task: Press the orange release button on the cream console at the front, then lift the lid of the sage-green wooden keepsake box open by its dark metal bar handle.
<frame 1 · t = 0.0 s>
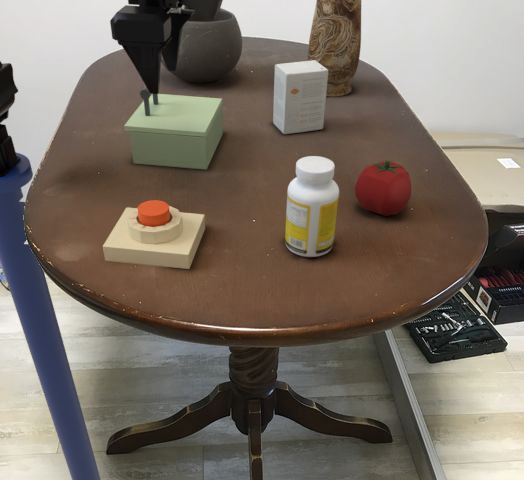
hand: (163, 81, 79), 16 cm above the table, tool pointing down, fingers open, 9 cm apart
release button: (154, 213, 76), point 5 cm above the table, slide at 0.2 cm
tomato: (381, 209, 87), on the table
small box: (297, 127, 109), on the table
vase: (330, 90, 124), on the table
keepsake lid: (174, 100, 96), point 8 cm above the table, hinge at 0.0°
keepsake box: (180, 147, 101), on the table
pill bottle: (308, 247, 79), on the table
release console: (157, 244, 79), on the table
bowl: (200, 79, 127), on the table
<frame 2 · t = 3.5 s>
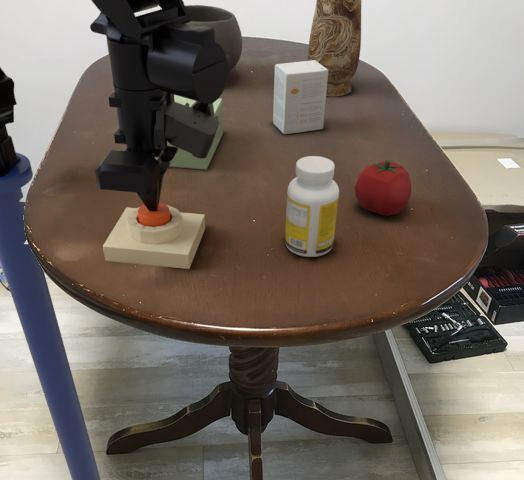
hand: (153, 209, 75), 5 cm above the table, tool pointing down, fingers closed, pressing on release button
release button: (154, 215, 76), point 4 cm above the table, slide at -0.2 cm, touching gripper
everything else where it was.
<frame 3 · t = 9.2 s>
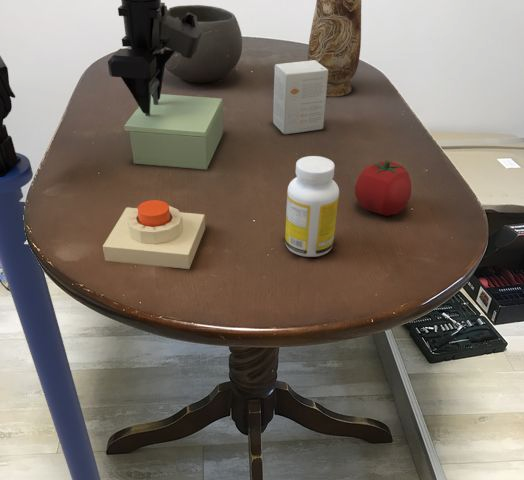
hand: (151, 106, 97), 7 cm above the table, tool pointing down, fingers closed on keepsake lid, 6 cm apart
release button: (154, 213, 76), point 5 cm above the table, slide at 0.2 cm
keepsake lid: (174, 100, 96), point 8 cm above the table, hinge at 0.0°, touching gripper
everything else where it was.
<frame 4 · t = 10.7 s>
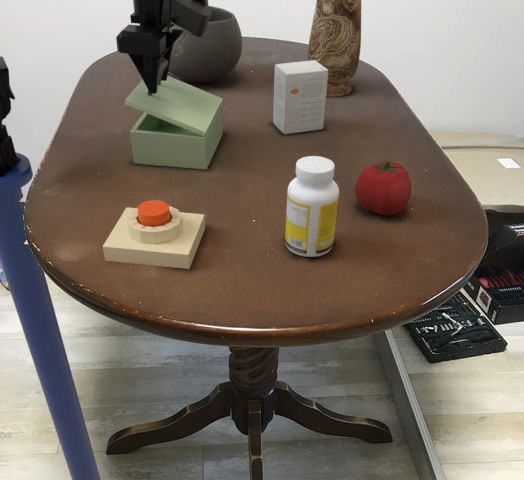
hand: (158, 86, 94), 10 cm above the table, tool pointing down, fingers closed on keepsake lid, 6 cm apart
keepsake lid: (180, 88, 94), point 10 cm above the table, hinge at 18.6°, touching gripper
everything else where it was.
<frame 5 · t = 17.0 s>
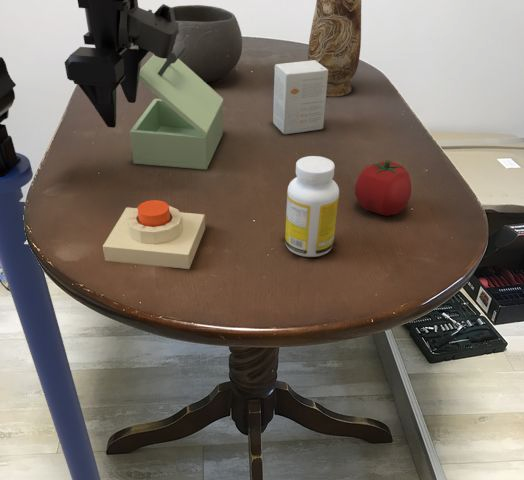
hand: (122, 114, 83), 11 cm above the table, tool pointing down, fingers open, 9 cm apart
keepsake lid: (190, 78, 93), point 11 cm above the table, hinge at 38.9°
everything else where it was.
at the end: release button pushed in 1.1 cm at the most during the clip, back to 0.2 cm at the end; release button slide at 0.2 cm; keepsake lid at +39° (first picture: +0°) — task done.
